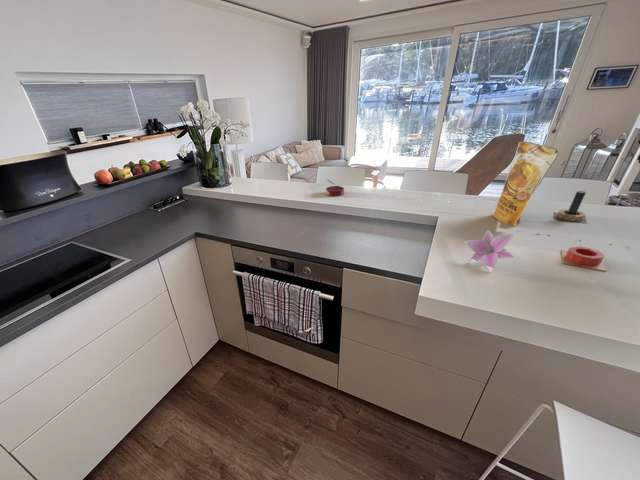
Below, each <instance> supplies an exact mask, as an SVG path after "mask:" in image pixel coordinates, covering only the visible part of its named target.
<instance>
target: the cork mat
mask: <svg viewBox="0 0 640 480" xmlns="http://www.w3.org/2000/svg"><path fill="white" fill-rule="evenodd" d="M567 252H568V250H562V249H561V250H560V254H561V264H562V265H567V266H571V267H572V266H573V267H578V268H581V269H582V268H583V269H588V270H593V271H599V272H607V267H606V265H605V262H604V259H603V260H602V261H601V263H600V264H599V265H597V266H586V265H580V264H577V263H574V262H571V261H570V260H568V259H567V258H566V254H567Z"/></svg>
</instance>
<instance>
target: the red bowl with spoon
mask: <svg viewBox="0 0 640 480" xmlns="http://www.w3.org/2000/svg"><path fill="white" fill-rule="evenodd" d="M327 182H329V183H330V184H332V185H331V186H328V187H326V188H325V195H326V196H328V197H341V196H343V195H344V194H345V187H343V186H341V185H338V184H335V183H333V182H332V181H331V180H330V179H329V178H328V179H327Z"/></svg>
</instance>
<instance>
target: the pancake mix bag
mask: <svg viewBox="0 0 640 480" xmlns="http://www.w3.org/2000/svg"><path fill="white" fill-rule="evenodd" d="M558 156H559V151H558V149H557V148H555V147H550V146H547V145H546V146H545V145H542V144H539V143H535V142H530V141H523V140H522V141H519V142H517V147H516V150H515V153H514V156H513V159H512V161H511V165H510V167H509V171H508V173H507V176H506V178H505V180H504V185H503V189H502V191H501V193H500V196H499V199H498V202H497V204H496V206H495V209H494V211H493V214H492V216H493V218H494V219H496V220H497V221H498V222H499V223H501V222H503V223H504V224H506V225H511V226H513V227H517V226H518V225H519V224H520V223H521V221H520V220H521V217H522V215H523V214H524V211H525V210H526V208H527V206H528V204H529V202H530V201H531V199H532V197H533V196H534V194H535V192H536V191H537V189H538V188H539V186H540V185H541V183H542V181H543V180H544V178H545V177H546V175H547V173H548V172H549V170H550V169H551V167H552V166H553V165H554V163H555V162H556V160H557V158H558Z"/></svg>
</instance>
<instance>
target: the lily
mask: <svg viewBox="0 0 640 480" xmlns="http://www.w3.org/2000/svg"><path fill="white" fill-rule="evenodd" d="M513 238H514V233H507V234H502V235H498V236H496V237H494V235H493V233H492V232H491V231H490V230H489V229H486V231H485V232H484V234H483V237H482V239H471V240H470V239H469V240H465V241H464V245H466V246H467V247H468V248H469V249H470V250H471V251H473V252H474V253H473V255H472V256H471V257H470V259H474V260H476V261H477V262H481V261H482V263H483V266H485V265H486V266H489V267H492V268H493V269H495V267H496V265H497V263H498V261H499V259H513V258H515V256H514V255H513V254H512V252H510V251H508V250H507V249H506V247H507V245H508V244H509V243H510V242H511V240H512V239H513Z"/></svg>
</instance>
